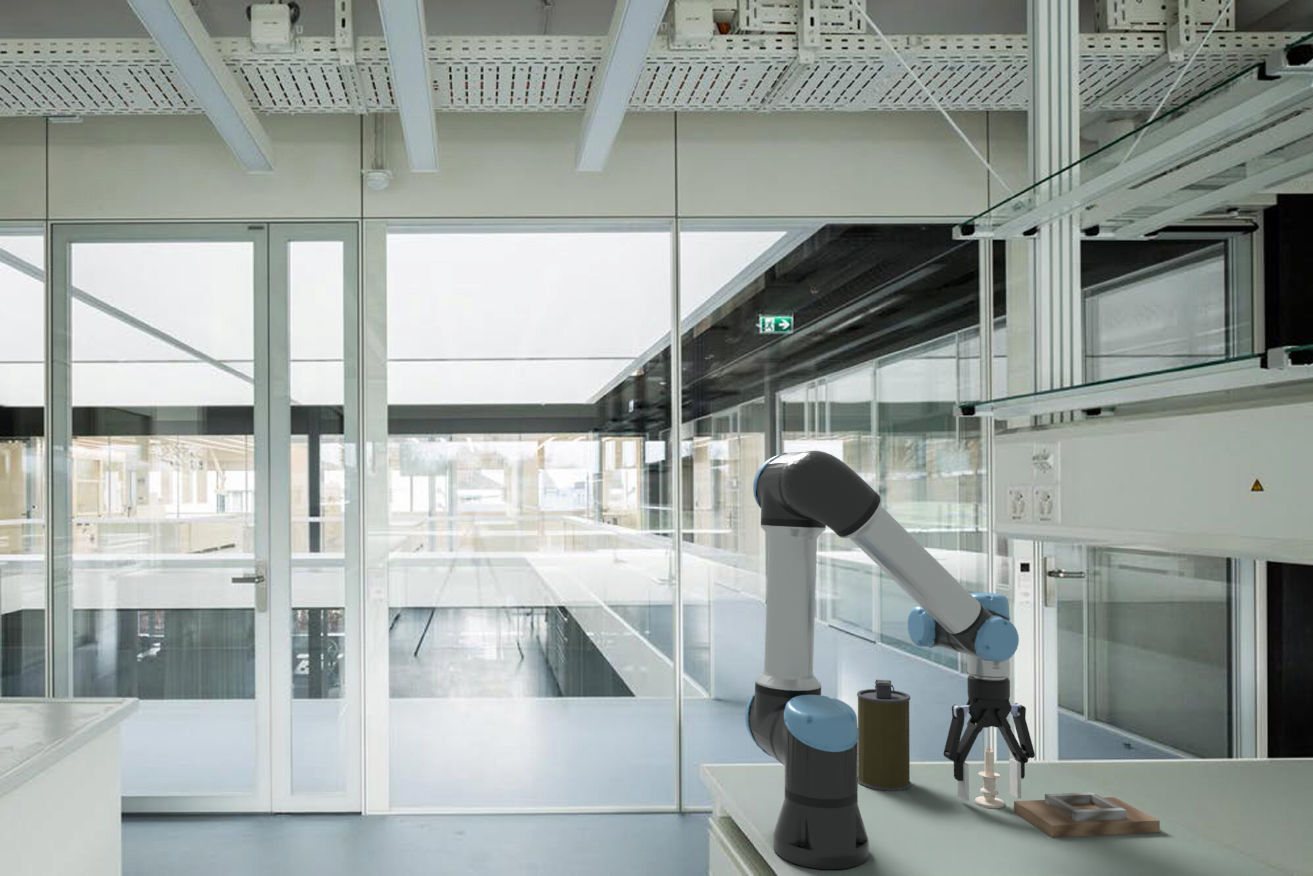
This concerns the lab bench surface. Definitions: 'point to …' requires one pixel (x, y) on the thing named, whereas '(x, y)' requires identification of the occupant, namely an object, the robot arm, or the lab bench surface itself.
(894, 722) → the canister
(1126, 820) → the board
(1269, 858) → the lab bench surface
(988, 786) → the candle
